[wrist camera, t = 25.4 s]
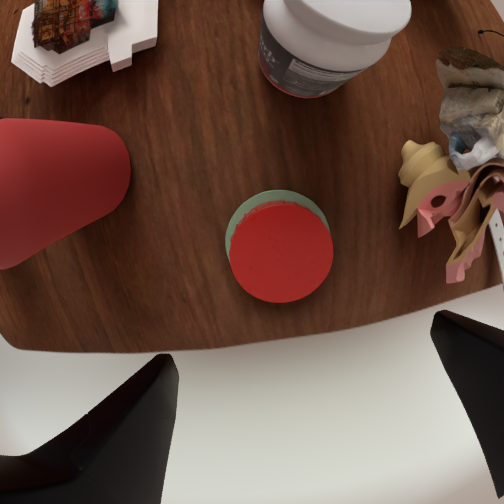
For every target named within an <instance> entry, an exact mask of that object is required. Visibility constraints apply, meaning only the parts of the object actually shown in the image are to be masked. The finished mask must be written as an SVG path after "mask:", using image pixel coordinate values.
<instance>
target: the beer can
mask: <svg viewBox="0 0 504 504" xmlns="http://www.w3.org/2000/svg"><path fill="white" fill-rule="evenodd" d="M130 174H131V165H130V156H129V153H128V151H127V148H126V146H125V144H124V141H123V140H122V139H121V138H120V137H119V136H118V135H117V134H116V132H115V131H113V130H110V129H108V128H106V127H104V126H99V125H91V124H83V123H74V122H64V121H53V120H38V119H16V118H4V119H0V270H3V269H7V268H11V267H14V266H16V265H18V264H19V263H21V262H22V261H24V260H26V259H27V258H29V257H31V256H32V255H34V254H36V253H37V252H39V251H41V250H42V249H44V248H46V247H47V246H49V245H51V244H53V243H54V242H56V241H58V240H60V239H62V238H63V237H65V236H67V235H69V234H71V233H73V232H74V231H76V230H78V229H80V228H82V227H84V226H86V225H88V224H90V223H92V222H94V221H96V220H98V219H100V218H102V217H104V216H105V215H107V214H109V213H110V212H112V211H113V210H115V208H116V207H117V206H118V205H119V204H120V202H121V201H122V200H123V198H124V196H125V193H126V191H127V189H128V187H129V181H130Z"/></svg>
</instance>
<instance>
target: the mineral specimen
mask: <svg viewBox="0 0 504 504" xmlns="http://www.w3.org/2000/svg"><path fill="white" fill-rule="evenodd" d="M113 10H115V11H113ZM113 12H114V13H113ZM114 14H115V15H114ZM111 15H112V16H111ZM113 15H114V16H113ZM102 16H103V17H104V18H103V17H102ZM107 16H108V17H107ZM109 16H110V17H109ZM105 17H107V18H105ZM112 17H113V18H114V21H111V22H109V23H107V22H108V21H107V22H106V23H103V25H101V26H98V25H97V26H98V27H97V26H96V27H93V26H92V23H95V24H101V23H98V22H99V21H98V22H97V23H96V22H95V21H96V20H97V19H101V20H102V19H106V20H107V19H109V18H112ZM157 17H158V0H38V1H36V3H34V4H33V5H31V6H29V7H27V8H26V9H24V10H23V12H22V16H21V19H20V23H19V27H18V31H17V35H16V40H15V44H14V50H13V55H12V61H11V62H12V63H13V64H15V65H16V66H17V67H19V68H20V69H22V70H23V71H24V72H26V73H27V74H28V75H30V76H31V77H32V78H34V79H35V80H36V81H38V82H39V83H40V84H41V83H42V82H45V83H46V84H48V85H49V86H50V87H53V86H55V85H56V84H58V83H60V82H62V81H64V80H66V79H68V78H70V77H72V76H74V75H76V74H78V73H80V72H82V71H84V70H87V69H89V68H91V67H93V66H96V65H98V64H100V63H103V62H105V61H108V60H110V62H111V66H112V70H113V72H115V71H117V70H120V69H123V68H125V67H128V66H131V65H132V53H135V52H138V51H141V50H144V49H147V48H150V47H154V46H155V45H156V40H157ZM94 20H95V21H94ZM101 20H100V21H101ZM110 20H111V19H110ZM93 21H94V22H93ZM104 21H105V20H104ZM104 21H103V22H104ZM95 24H94V25H95ZM92 27H93V29H92ZM52 42H53V43H52ZM48 43H52V44H53V45H54V46H52V45H51V44H50V45H49V47H50V46H52V47H53V49H52V48H51V47H50V48H51V50H45V49H44V48H42V47H45V48H46V47H48V46H47V45H46V46H42V45H45V44H48Z"/></svg>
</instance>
